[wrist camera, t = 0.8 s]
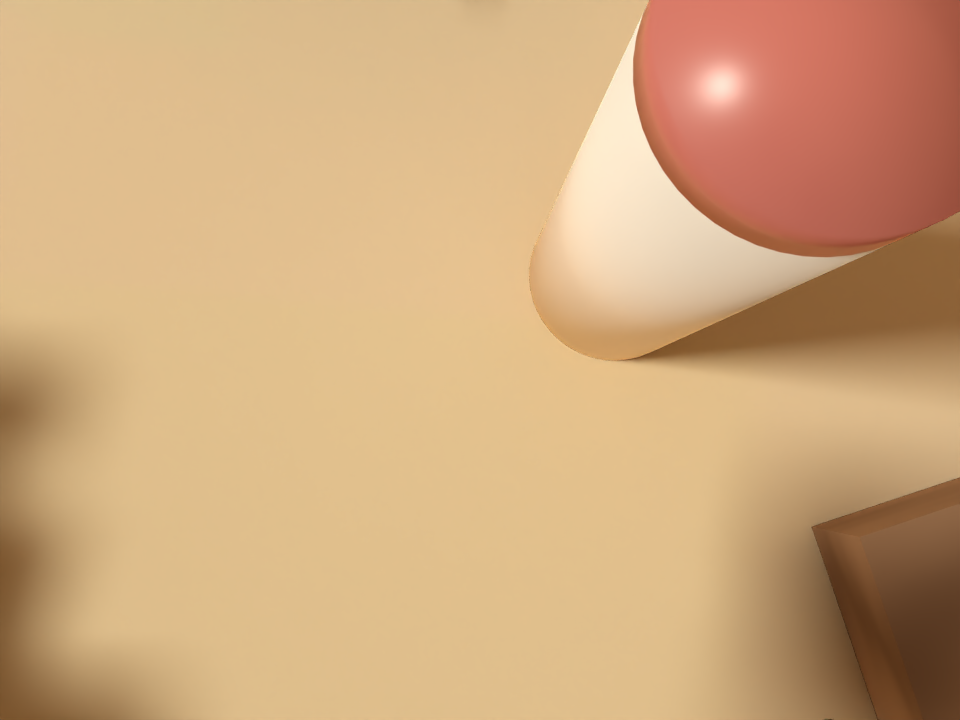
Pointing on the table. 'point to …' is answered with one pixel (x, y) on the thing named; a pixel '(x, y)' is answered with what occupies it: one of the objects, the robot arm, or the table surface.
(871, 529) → the jig plate
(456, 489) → the table surface
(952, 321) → the table surface
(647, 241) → the post
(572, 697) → the table surface
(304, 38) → the table surface
